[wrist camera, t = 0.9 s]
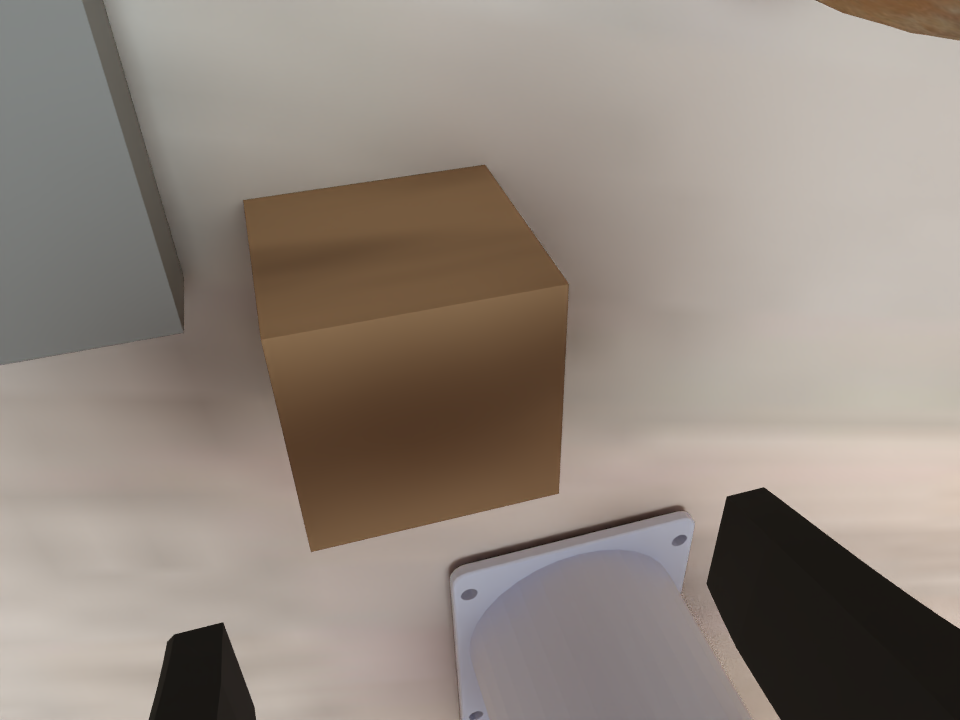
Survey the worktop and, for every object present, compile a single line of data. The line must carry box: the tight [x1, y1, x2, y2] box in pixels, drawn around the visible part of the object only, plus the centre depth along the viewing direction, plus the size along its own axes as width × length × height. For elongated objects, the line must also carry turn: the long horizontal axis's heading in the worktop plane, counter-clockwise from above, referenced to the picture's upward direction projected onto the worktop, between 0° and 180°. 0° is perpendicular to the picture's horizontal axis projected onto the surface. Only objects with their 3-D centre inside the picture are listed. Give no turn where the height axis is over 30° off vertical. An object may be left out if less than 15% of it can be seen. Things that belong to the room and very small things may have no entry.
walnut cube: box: [243, 165, 569, 552], centre depth 16 cm, size 5×5×5 cm
